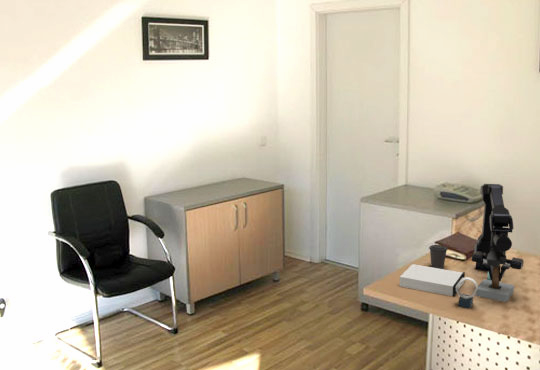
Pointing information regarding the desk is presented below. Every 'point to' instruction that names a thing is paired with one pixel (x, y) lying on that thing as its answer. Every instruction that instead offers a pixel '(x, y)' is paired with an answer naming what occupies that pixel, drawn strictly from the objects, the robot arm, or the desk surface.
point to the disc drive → (431, 279)
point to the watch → (464, 299)
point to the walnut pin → (495, 277)
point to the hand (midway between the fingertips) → (495, 280)
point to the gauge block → (495, 291)
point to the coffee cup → (438, 256)
